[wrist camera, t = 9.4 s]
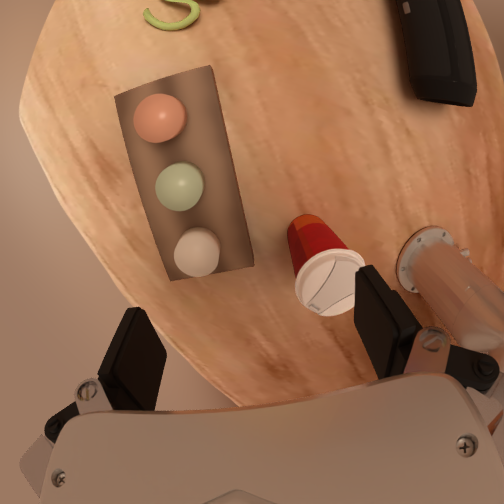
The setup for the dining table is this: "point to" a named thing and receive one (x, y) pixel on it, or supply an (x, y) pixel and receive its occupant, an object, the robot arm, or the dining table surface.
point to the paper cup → (322, 267)
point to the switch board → (199, 153)
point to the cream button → (197, 252)
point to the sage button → (180, 186)
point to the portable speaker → (438, 51)
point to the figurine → (177, 25)
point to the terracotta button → (160, 118)
